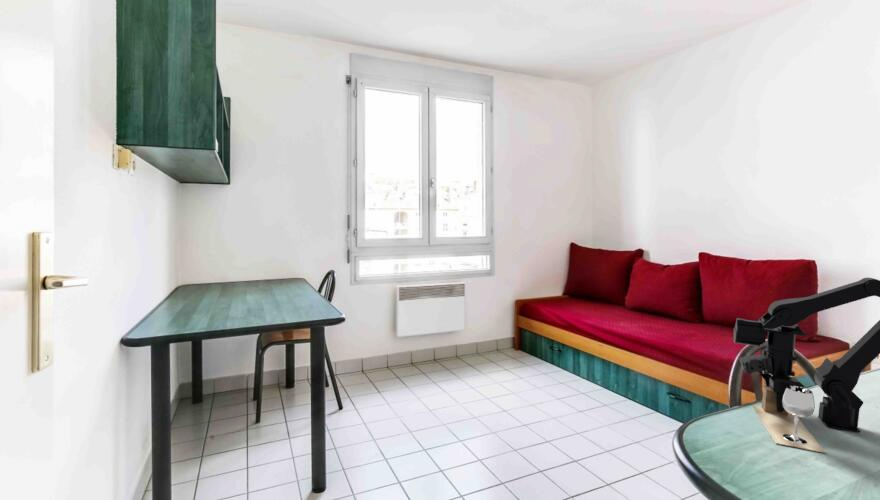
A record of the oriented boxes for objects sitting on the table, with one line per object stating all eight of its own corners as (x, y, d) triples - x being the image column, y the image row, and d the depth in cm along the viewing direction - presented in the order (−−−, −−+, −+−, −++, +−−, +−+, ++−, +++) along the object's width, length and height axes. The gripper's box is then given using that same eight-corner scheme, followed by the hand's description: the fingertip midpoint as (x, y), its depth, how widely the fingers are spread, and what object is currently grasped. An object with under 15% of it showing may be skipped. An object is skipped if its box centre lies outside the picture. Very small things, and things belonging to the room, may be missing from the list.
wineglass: (816, 447, 98) (822, 395, 97) (787, 444, 99) (792, 393, 98) (801, 434, 103) (805, 386, 102) (773, 431, 104) (778, 383, 103)
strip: (792, 412, 116) (795, 390, 115) (826, 453, 96) (828, 426, 95) (752, 405, 119) (754, 384, 119) (776, 443, 99) (778, 417, 99)
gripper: (736, 336, 126) (732, 388, 127) (752, 354, 109) (747, 414, 110) (783, 341, 121) (778, 395, 123) (807, 361, 104) (801, 423, 106)
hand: (775, 406), depth 115 cm, fingers open, 7 cm apart
